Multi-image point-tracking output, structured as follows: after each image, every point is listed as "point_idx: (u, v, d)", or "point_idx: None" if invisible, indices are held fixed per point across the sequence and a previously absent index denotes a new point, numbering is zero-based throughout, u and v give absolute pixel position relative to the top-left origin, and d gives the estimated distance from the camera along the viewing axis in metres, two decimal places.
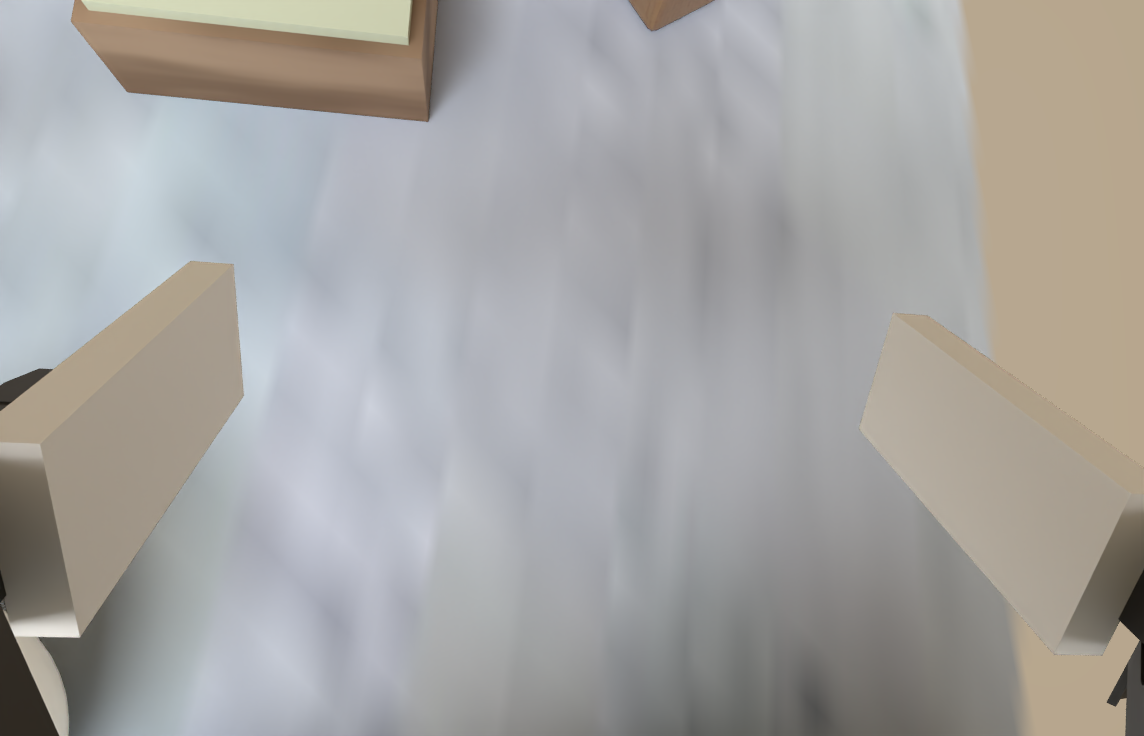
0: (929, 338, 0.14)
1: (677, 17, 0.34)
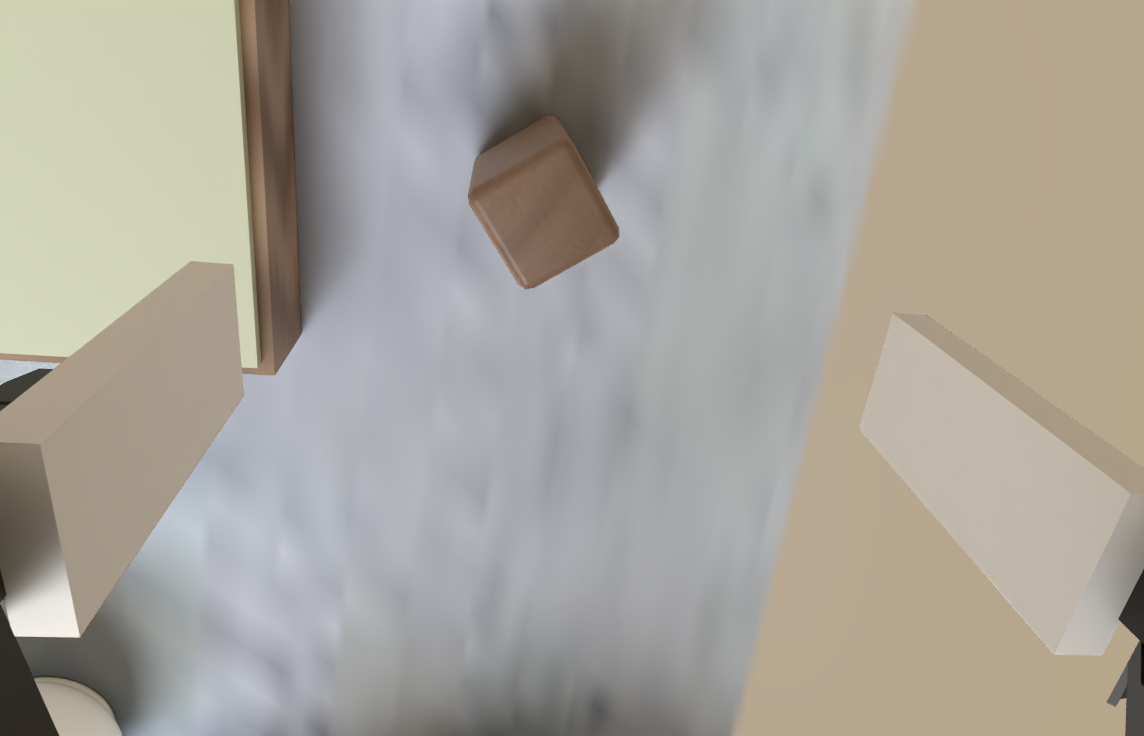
0: (930, 337, 0.14)
1: None
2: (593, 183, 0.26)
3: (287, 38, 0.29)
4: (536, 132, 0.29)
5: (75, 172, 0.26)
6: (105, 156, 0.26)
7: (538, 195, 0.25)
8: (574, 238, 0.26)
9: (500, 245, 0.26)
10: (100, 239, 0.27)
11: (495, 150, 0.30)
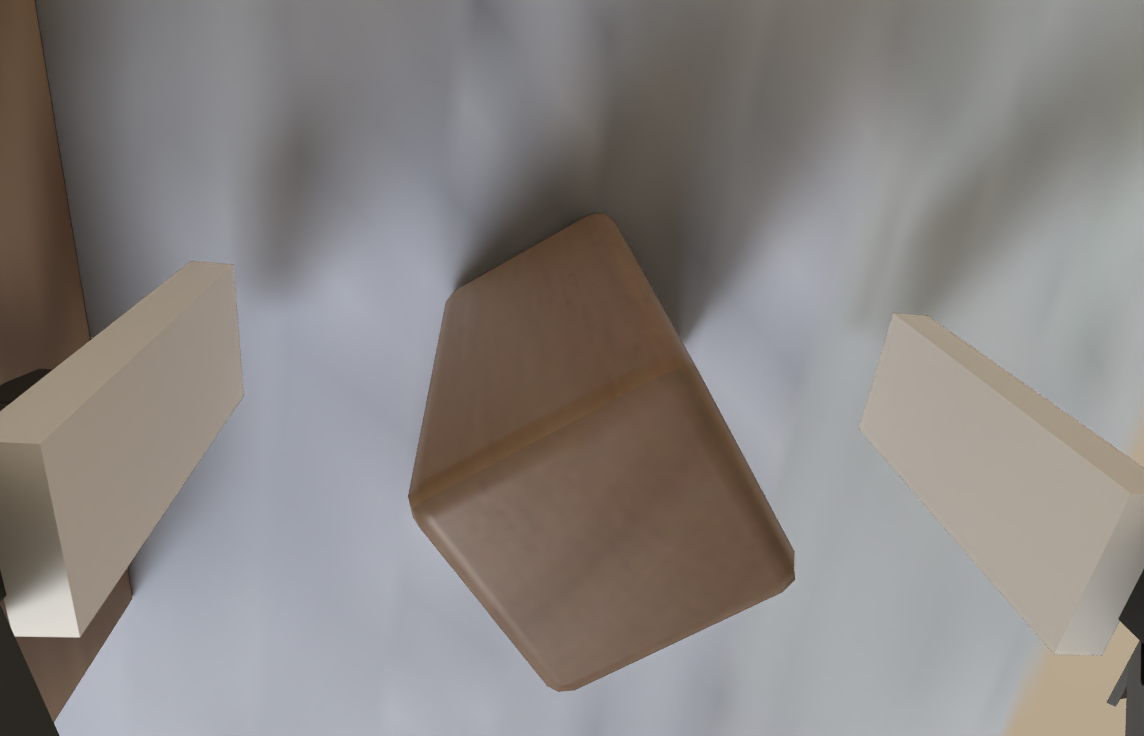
0: (930, 338, 0.14)
1: None
2: (742, 461, 0.10)
3: (32, 61, 0.14)
4: (577, 274, 0.13)
5: None
6: None
7: (598, 502, 0.09)
8: (687, 592, 0.10)
9: (495, 611, 0.10)
10: None
11: (486, 296, 0.14)
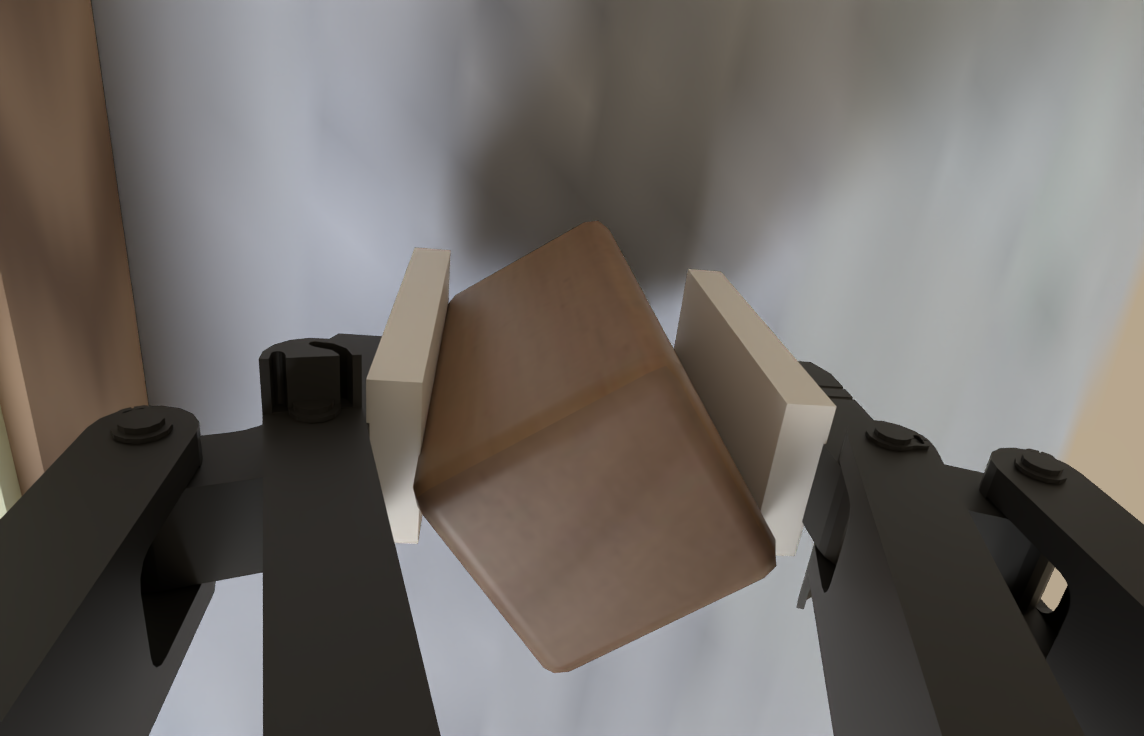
0: (706, 288, 0.16)
1: None
2: (725, 454, 0.10)
3: (86, 35, 0.15)
4: (572, 279, 0.14)
5: None
6: None
7: (589, 492, 0.10)
8: (674, 576, 0.11)
9: (493, 595, 0.11)
10: None
11: (486, 300, 0.15)
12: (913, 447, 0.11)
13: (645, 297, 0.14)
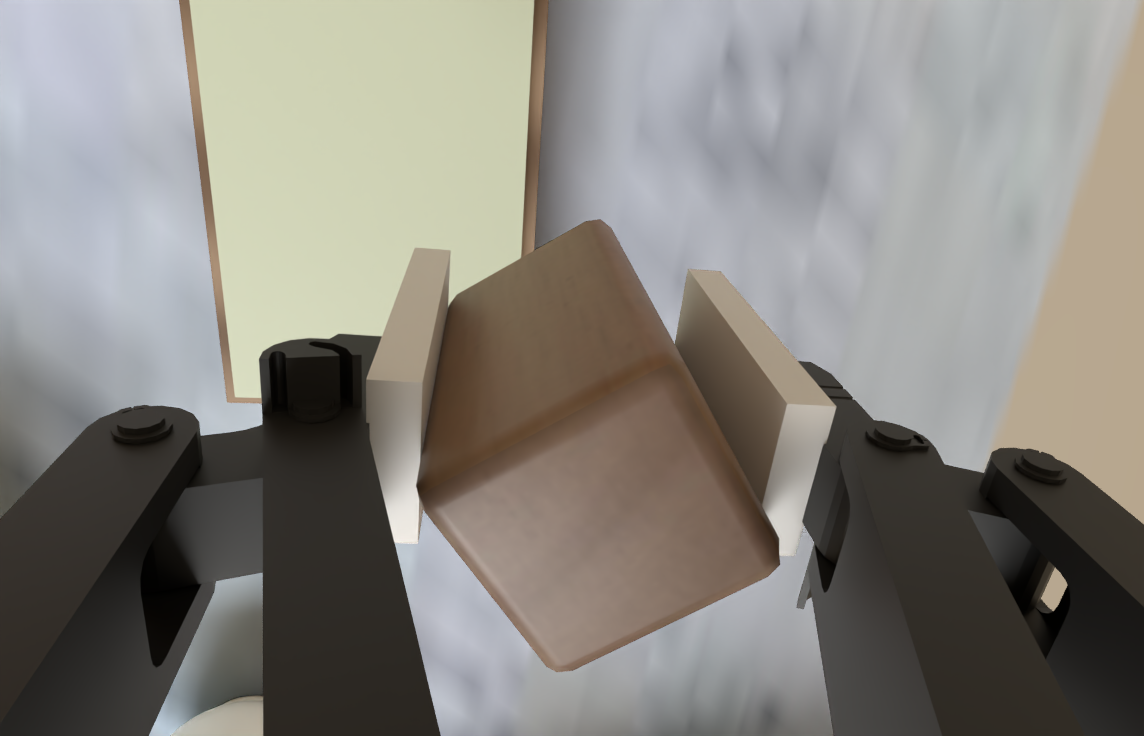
0: (706, 288, 0.16)
1: None
2: (728, 452, 0.10)
3: None
4: (574, 278, 0.14)
5: (367, 228, 0.28)
6: (396, 213, 0.28)
7: (594, 491, 0.10)
8: (678, 576, 0.11)
9: (497, 594, 0.11)
10: (382, 290, 0.29)
11: (488, 299, 0.15)
12: (913, 447, 0.11)
13: None
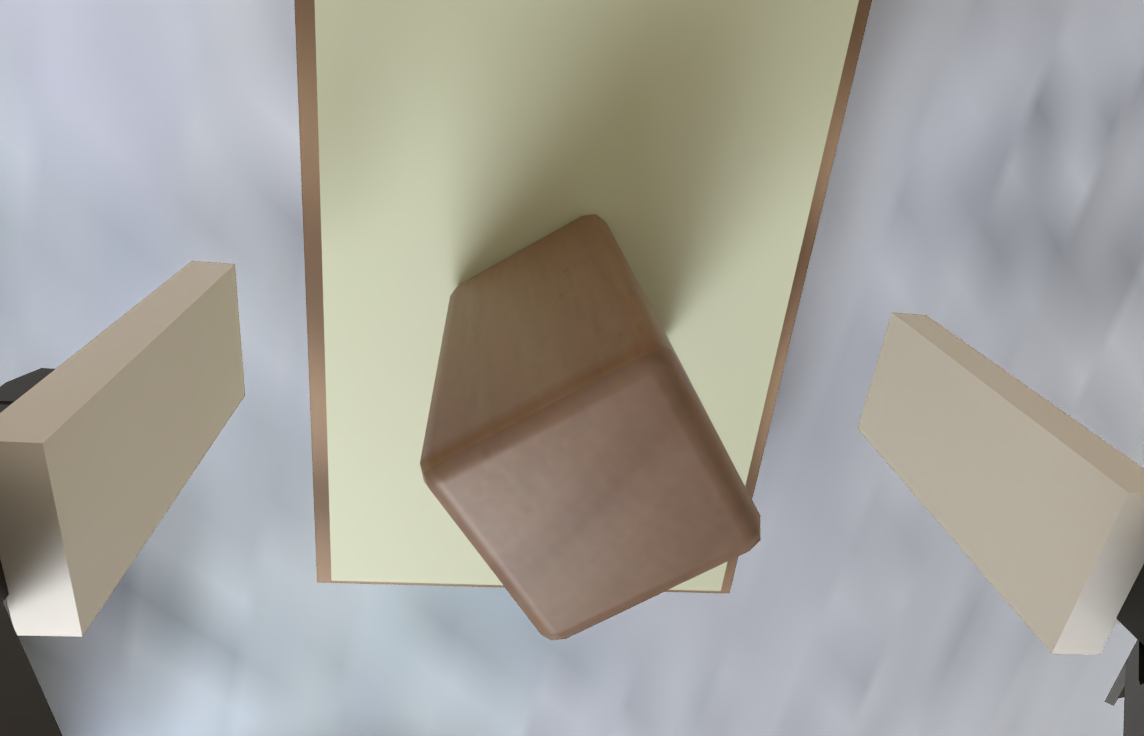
0: (928, 337, 0.14)
1: None
2: (712, 434, 0.11)
3: None
4: (570, 270, 0.14)
5: None
6: None
7: (586, 469, 0.11)
8: (664, 550, 0.11)
9: (495, 565, 0.11)
10: None
11: (488, 289, 0.16)
12: None
13: None
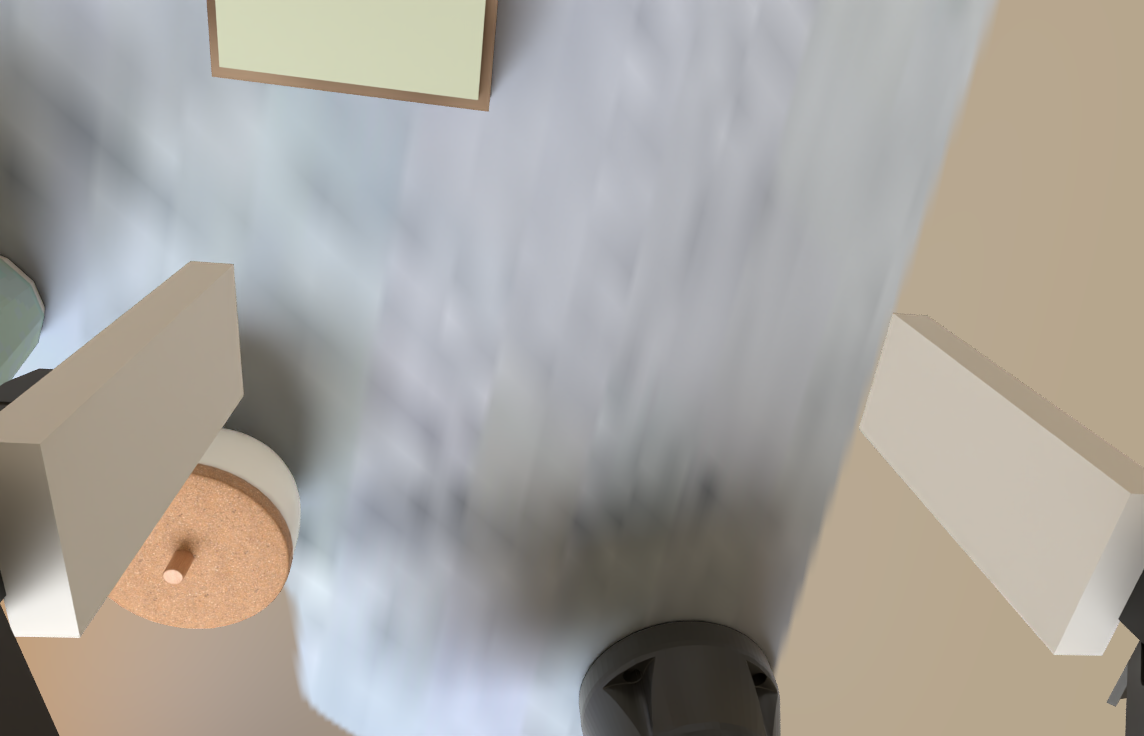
0: (930, 338, 0.14)
1: None
2: None
3: None
4: None
5: None
6: None
7: None
8: None
9: None
10: None
11: None
12: None
13: None
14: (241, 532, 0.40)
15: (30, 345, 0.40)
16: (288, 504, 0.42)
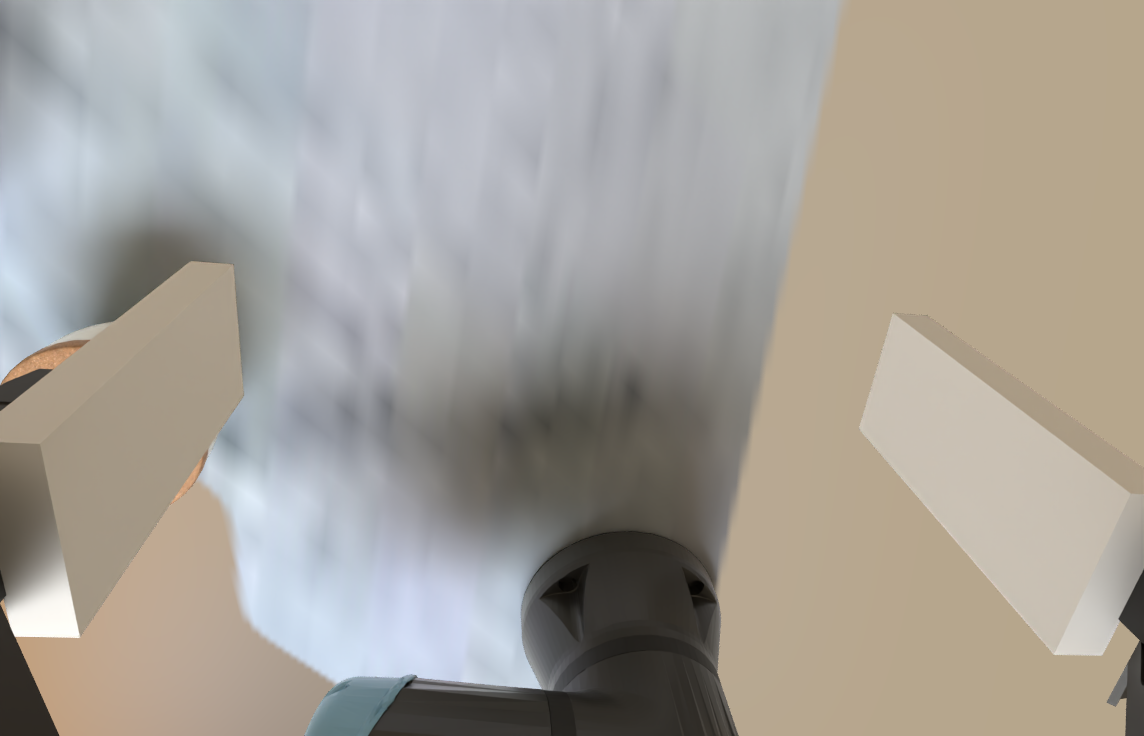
0: (930, 337, 0.14)
1: None
2: None
3: None
4: None
5: None
6: None
7: None
8: None
9: None
10: None
11: None
12: None
13: None
14: None
15: None
16: None
